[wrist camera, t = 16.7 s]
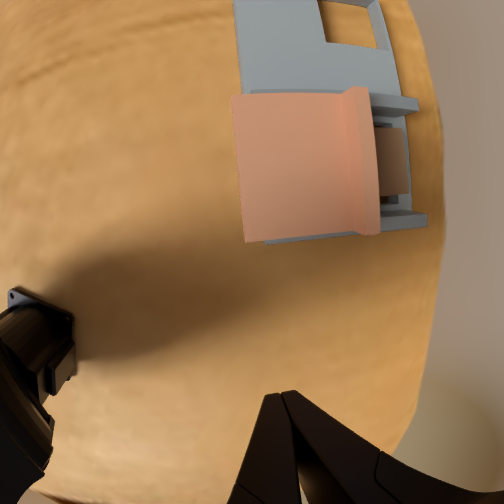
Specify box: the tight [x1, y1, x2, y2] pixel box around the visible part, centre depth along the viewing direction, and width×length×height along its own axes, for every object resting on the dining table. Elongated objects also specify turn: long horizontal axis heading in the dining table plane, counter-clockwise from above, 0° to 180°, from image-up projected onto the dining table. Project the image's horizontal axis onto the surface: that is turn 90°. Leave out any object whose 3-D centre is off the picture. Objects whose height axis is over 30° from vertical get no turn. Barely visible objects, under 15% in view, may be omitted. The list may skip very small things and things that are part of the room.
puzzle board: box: [232, 0, 427, 245], centre depth 16 cm, size 11×18×4 cm, turn 6°
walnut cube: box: [374, 128, 409, 196], centre depth 18 cm, size 4×4×4 cm
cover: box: [231, 86, 380, 243], centre depth 14 cm, size 6×7×2 cm
